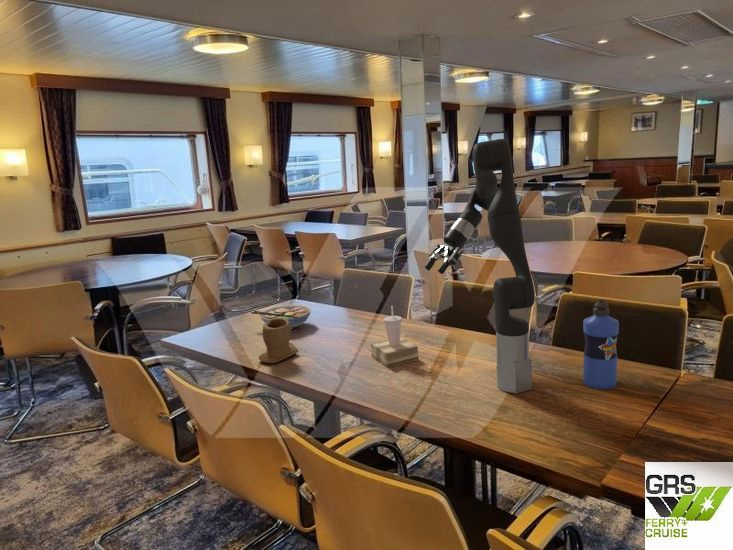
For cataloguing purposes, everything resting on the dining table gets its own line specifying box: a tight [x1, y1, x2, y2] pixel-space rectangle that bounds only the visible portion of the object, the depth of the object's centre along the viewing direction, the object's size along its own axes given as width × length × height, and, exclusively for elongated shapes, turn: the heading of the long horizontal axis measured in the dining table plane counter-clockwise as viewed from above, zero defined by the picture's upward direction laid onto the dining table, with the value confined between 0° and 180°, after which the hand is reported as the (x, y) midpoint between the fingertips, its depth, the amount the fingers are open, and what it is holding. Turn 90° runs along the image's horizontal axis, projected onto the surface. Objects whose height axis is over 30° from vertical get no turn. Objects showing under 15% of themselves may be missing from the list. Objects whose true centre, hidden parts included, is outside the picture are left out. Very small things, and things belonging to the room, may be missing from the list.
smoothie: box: [383, 305, 403, 347], centre depth 187 cm, size 6×6×14 cm
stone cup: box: [258, 318, 299, 364], centre depth 196 cm, size 15×12×15 cm
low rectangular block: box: [370, 336, 420, 369], centre depth 189 cm, size 12×12×5 cm
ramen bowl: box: [250, 303, 312, 329], centre depth 233 cm, size 25×23×8 cm
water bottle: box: [582, 299, 620, 390], centre depth 156 cm, size 9×9×25 cm
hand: (433, 270), depth 187 cm, fingers open, 8 cm apart
